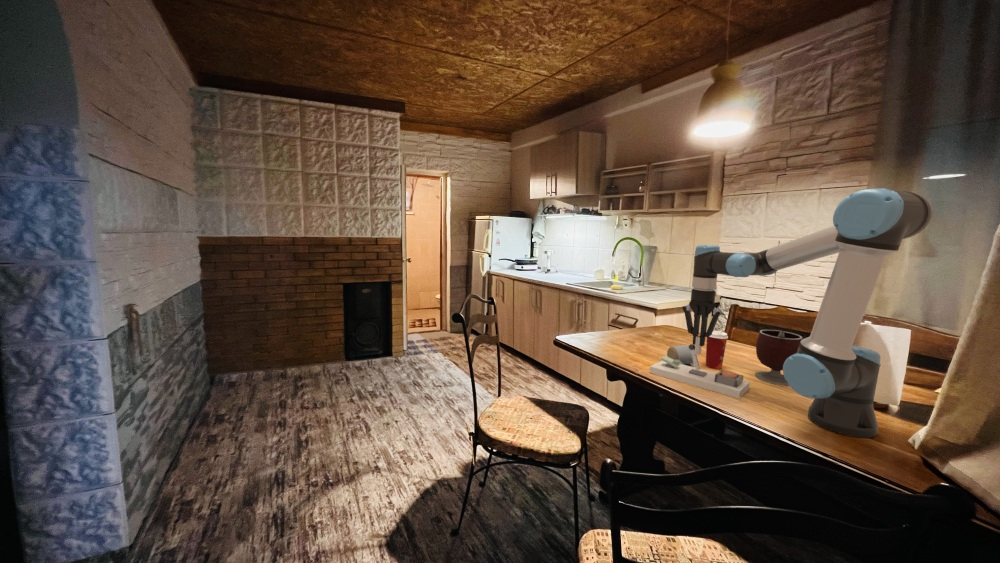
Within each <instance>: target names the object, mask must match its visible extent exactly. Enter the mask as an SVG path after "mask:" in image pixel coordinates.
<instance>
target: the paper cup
mask: <svg viewBox="0 0 1000 563" xmlns="http://www.w3.org/2000/svg"><path fill="white" fill-rule="evenodd" d="M728 338H729V336H728V333H726V332H724V331H719V330H713V332H712V335H711V336H709V337H706V348H705V367H707V368H709V369H713V370H722V367H723V363H724V358H725V353H726V347H727V340H728Z"/></svg>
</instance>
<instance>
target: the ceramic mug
mask: <svg viewBox="0 0 1000 563" xmlns="http://www.w3.org/2000/svg"><path fill="white" fill-rule="evenodd" d="M689 345H690V344H681V345H674V346H670V347H669V348H668V349H667V353H666V356H667V357H669V358H671V359H674V360H676V359H677V360H679V361H680V364H682V365H689V366H690V367H694V368H695V365H694V362H693V358H692V354H691V351H690V349H689Z"/></svg>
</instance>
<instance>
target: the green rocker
mask: <svg viewBox="0 0 1000 563" xmlns="http://www.w3.org/2000/svg"><path fill="white" fill-rule="evenodd" d="M660 361H664V362H666V363H668V364H670V365H672V366H674V367H678V366H679V365H680V361H679V360H677V359H676V360H674V359H671V358H669V357H667V355H664V356H662V357H661V358H660Z"/></svg>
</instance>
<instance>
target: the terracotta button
mask: <svg viewBox="0 0 1000 563" xmlns="http://www.w3.org/2000/svg"><path fill="white" fill-rule="evenodd" d="M737 374H738V373H736V372H734V371H730V370H723V371H722V376H725V377H729V378H733V379H736V378H737Z"/></svg>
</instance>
